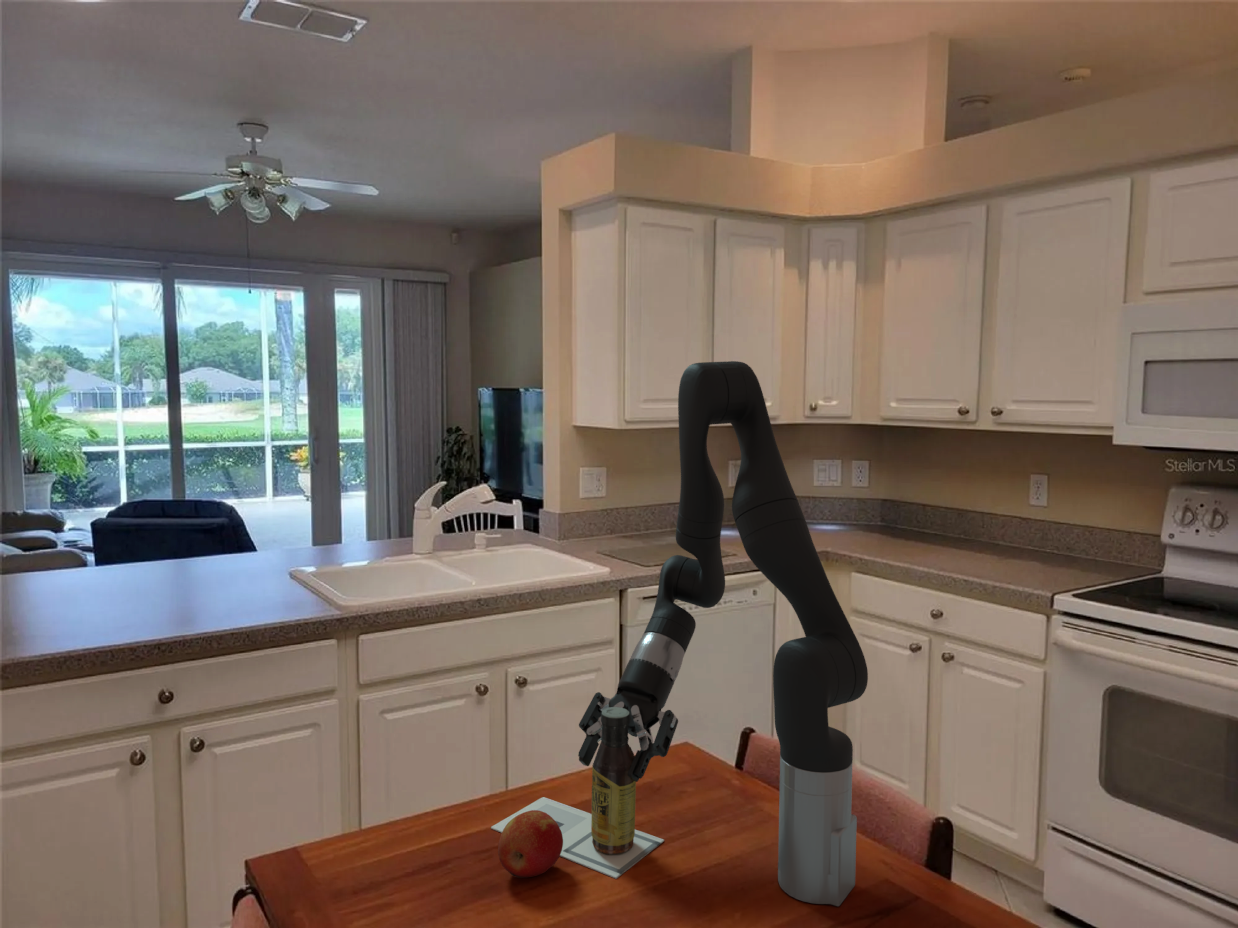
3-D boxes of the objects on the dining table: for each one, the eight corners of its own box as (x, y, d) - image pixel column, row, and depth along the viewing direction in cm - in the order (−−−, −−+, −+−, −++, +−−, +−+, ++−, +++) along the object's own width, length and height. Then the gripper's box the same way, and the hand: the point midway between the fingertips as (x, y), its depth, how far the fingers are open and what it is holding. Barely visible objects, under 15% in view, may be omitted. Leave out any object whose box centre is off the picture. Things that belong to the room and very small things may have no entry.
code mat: (664, 840, 122) (664, 839, 122) (616, 878, 112) (616, 877, 112) (543, 797, 135) (543, 796, 135) (490, 828, 125) (490, 826, 125)
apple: (571, 868, 115) (571, 811, 114) (532, 897, 108) (531, 837, 107) (527, 850, 119) (526, 796, 119) (486, 877, 112) (485, 820, 112)
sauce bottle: (585, 838, 122) (585, 705, 121) (625, 831, 124) (626, 699, 123) (600, 861, 116) (600, 721, 115) (642, 853, 118) (642, 715, 117)
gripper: (603, 649, 128) (555, 746, 120) (683, 665, 120) (638, 772, 112) (623, 674, 133) (578, 770, 125) (702, 691, 125) (660, 795, 116)
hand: (607, 770), depth 118 cm, fingers open, 8 cm apart
